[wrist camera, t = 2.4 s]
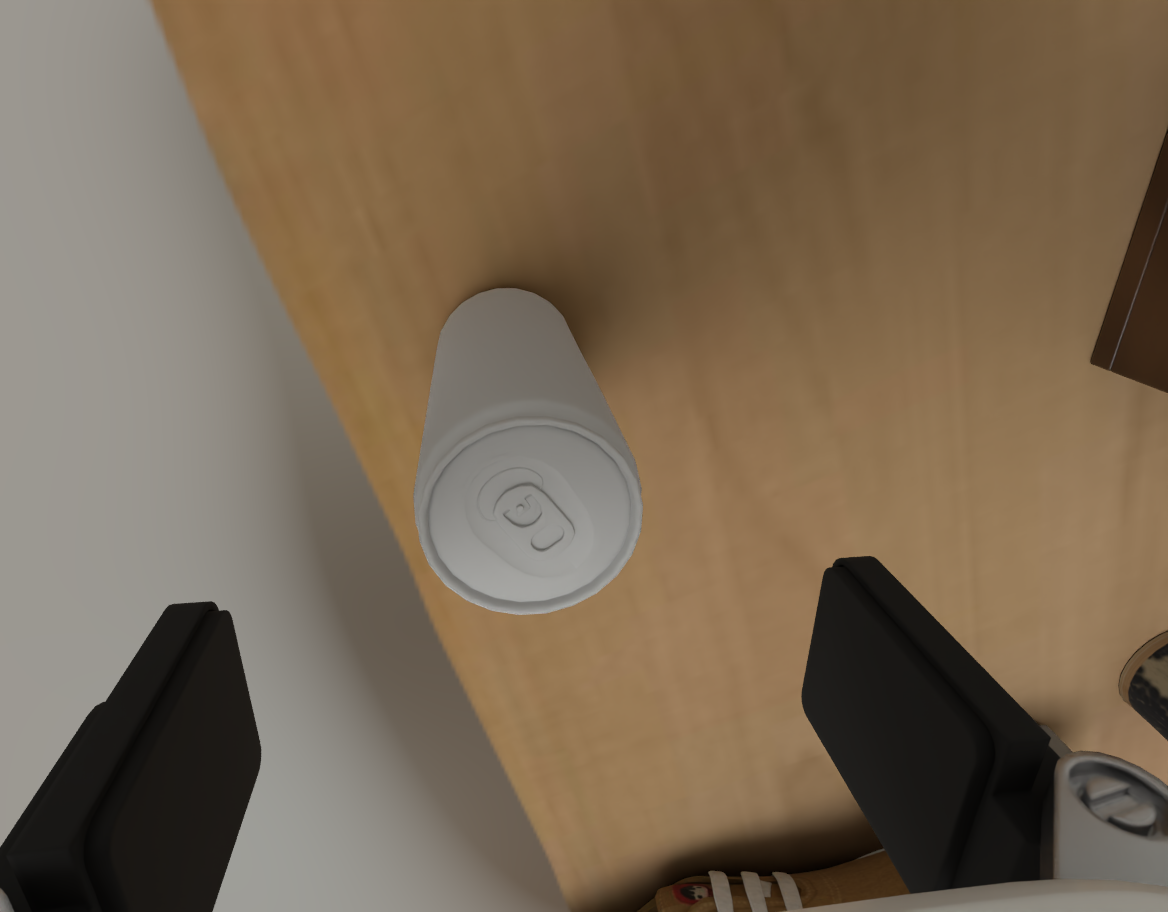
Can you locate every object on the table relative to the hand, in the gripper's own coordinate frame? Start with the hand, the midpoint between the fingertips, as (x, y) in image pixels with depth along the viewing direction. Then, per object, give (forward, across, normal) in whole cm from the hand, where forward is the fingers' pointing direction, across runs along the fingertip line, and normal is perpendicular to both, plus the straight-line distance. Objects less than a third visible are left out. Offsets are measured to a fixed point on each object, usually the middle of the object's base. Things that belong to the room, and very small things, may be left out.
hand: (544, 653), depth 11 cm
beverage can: (+16, 0, -1) cm, 16 cm away
